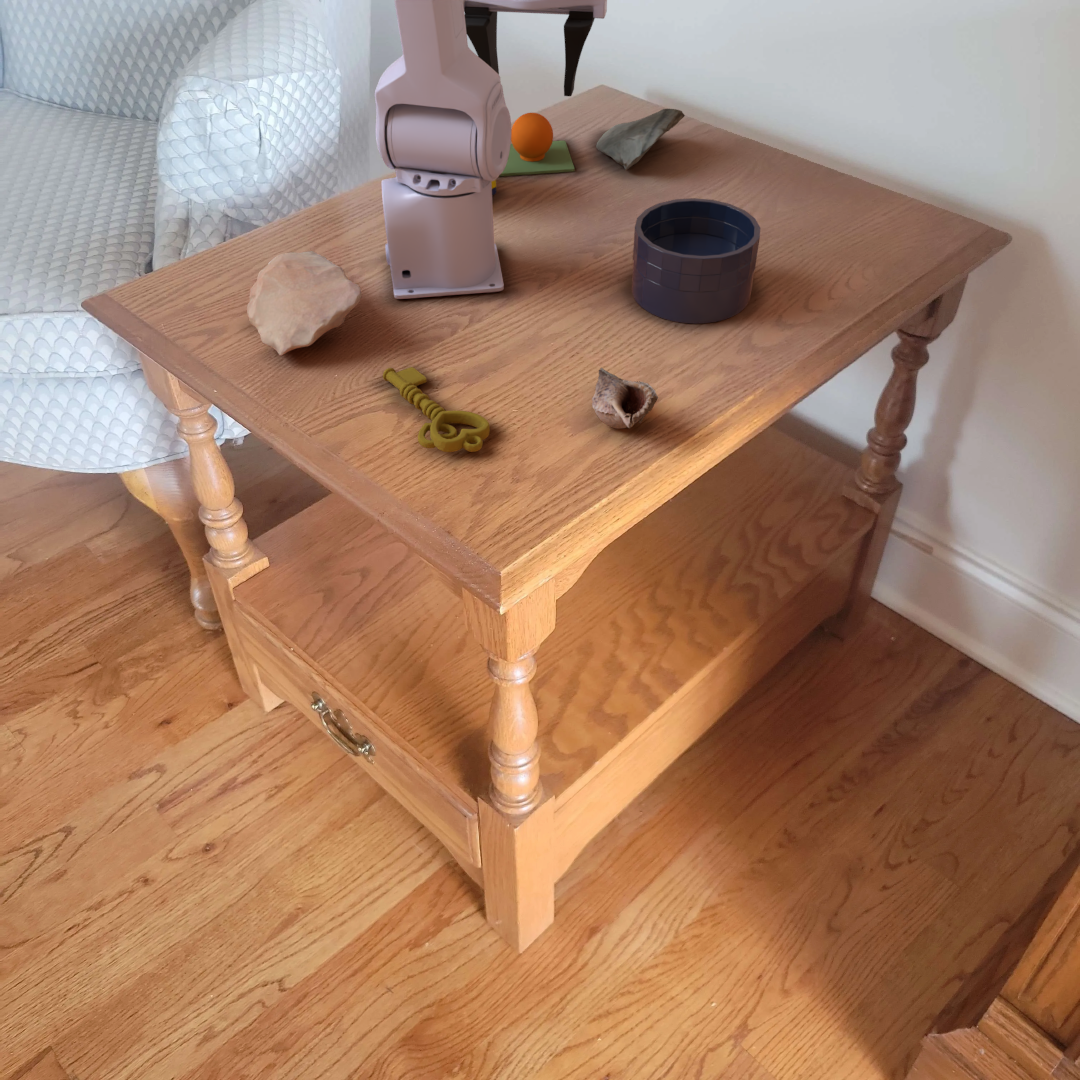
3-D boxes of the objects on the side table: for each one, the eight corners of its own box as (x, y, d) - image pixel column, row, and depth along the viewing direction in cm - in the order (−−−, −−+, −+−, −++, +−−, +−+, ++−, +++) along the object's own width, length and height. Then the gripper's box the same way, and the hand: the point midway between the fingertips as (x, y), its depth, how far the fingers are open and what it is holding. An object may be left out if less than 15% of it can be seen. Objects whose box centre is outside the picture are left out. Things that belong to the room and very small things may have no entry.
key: (411, 372, 80) (356, 391, 77) (411, 357, 79) (355, 376, 76) (503, 445, 73) (446, 468, 71) (503, 430, 72) (446, 454, 70)
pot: (644, 328, 83) (648, 262, 79) (622, 265, 90) (625, 202, 86) (764, 318, 84) (775, 253, 80) (733, 257, 91) (741, 194, 87)
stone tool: (257, 346, 77) (212, 264, 87) (295, 386, 80) (247, 303, 90) (349, 274, 77) (294, 200, 87) (383, 316, 80) (326, 241, 90)
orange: (531, 169, 104) (530, 126, 101) (502, 156, 106) (501, 114, 103) (561, 156, 106) (562, 114, 103) (533, 143, 108) (532, 102, 105)
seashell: (648, 451, 74) (598, 456, 73) (618, 369, 78) (570, 373, 77) (665, 412, 70) (613, 417, 69) (632, 328, 74) (582, 332, 73)
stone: (578, 184, 104) (670, 168, 100) (569, 145, 102) (663, 127, 98) (609, 151, 112) (696, 136, 108) (601, 114, 110) (690, 97, 105)
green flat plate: (497, 176, 103) (497, 174, 103) (491, 147, 108) (491, 145, 108) (574, 171, 104) (574, 168, 104) (565, 142, 109) (565, 140, 109)
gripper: (612, -73, 93) (607, 78, 103) (460, -78, 95) (468, 71, 105) (603, -51, 88) (599, 106, 98) (442, -57, 90) (453, 98, 100)
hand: (531, 90), depth 101 cm, fingers open, 7 cm apart
